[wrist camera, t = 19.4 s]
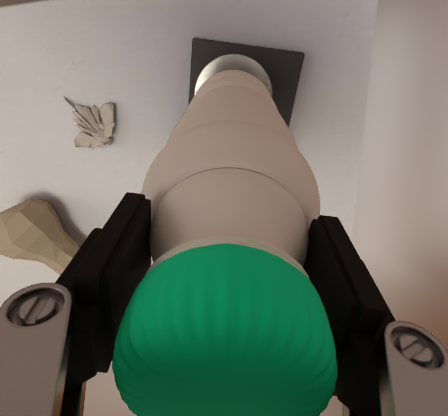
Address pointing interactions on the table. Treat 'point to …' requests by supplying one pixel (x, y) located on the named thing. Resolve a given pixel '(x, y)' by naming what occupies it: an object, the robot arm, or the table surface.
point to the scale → (267, 57)
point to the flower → (94, 125)
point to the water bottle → (228, 269)
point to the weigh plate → (234, 64)
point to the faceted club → (36, 235)
